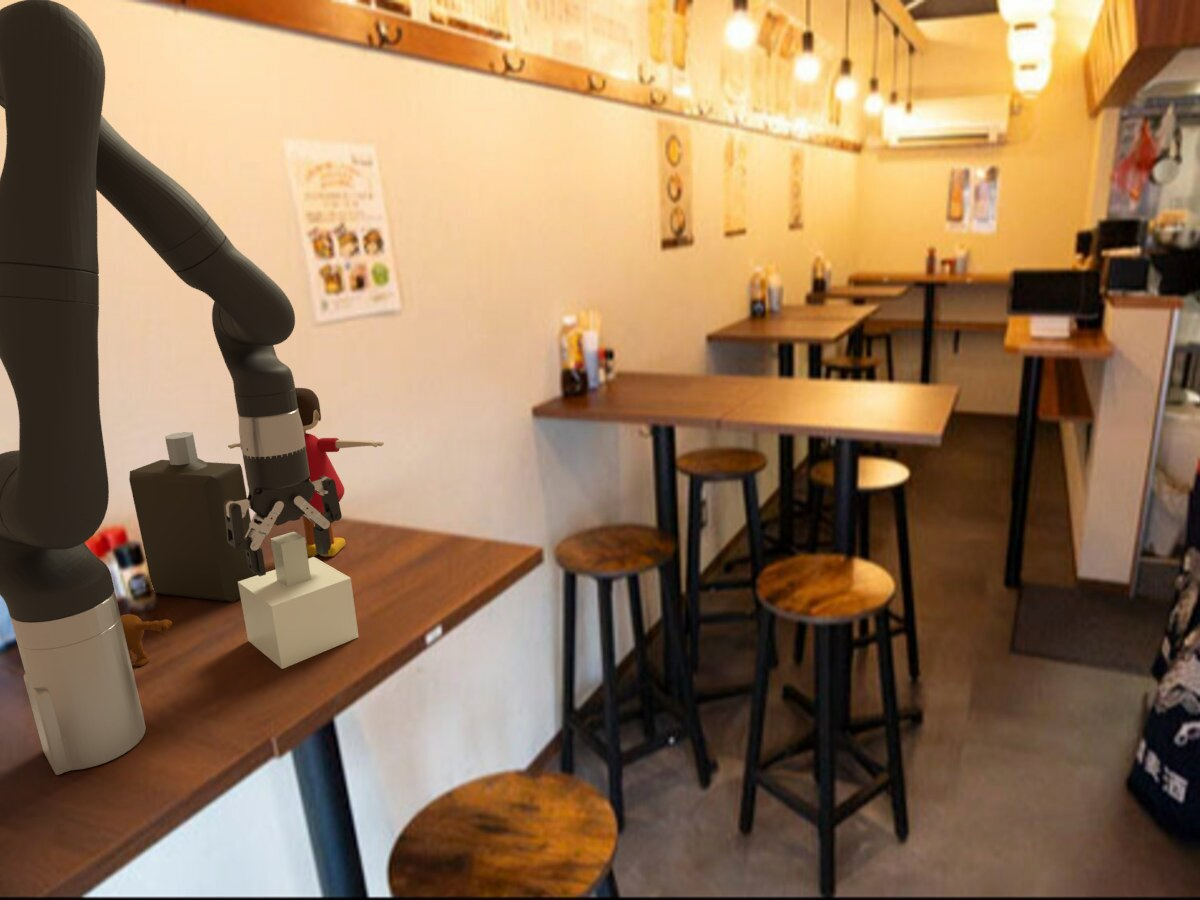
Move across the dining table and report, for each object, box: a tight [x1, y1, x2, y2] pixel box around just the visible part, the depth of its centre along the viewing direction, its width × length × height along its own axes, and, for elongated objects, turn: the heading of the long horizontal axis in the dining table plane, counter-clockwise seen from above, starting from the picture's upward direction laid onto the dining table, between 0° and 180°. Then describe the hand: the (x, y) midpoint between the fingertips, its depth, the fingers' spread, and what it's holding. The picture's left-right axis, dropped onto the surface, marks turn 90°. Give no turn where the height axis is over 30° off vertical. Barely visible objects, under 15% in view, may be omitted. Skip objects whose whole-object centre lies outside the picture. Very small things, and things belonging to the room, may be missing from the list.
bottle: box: [128, 431, 257, 603], centre depth 122 cm, size 8×16×25 cm, turn 74°
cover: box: [238, 531, 359, 670], centre depth 107 cm, size 11×11×15 cm
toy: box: [227, 387, 385, 558], centre depth 133 cm, size 27×11×30 cm, turn 84°
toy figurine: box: [120, 613, 173, 667], centre depth 103 cm, size 12×4×7 cm, turn 85°
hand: (292, 563), depth 106 cm, fingers open, 8 cm apart
